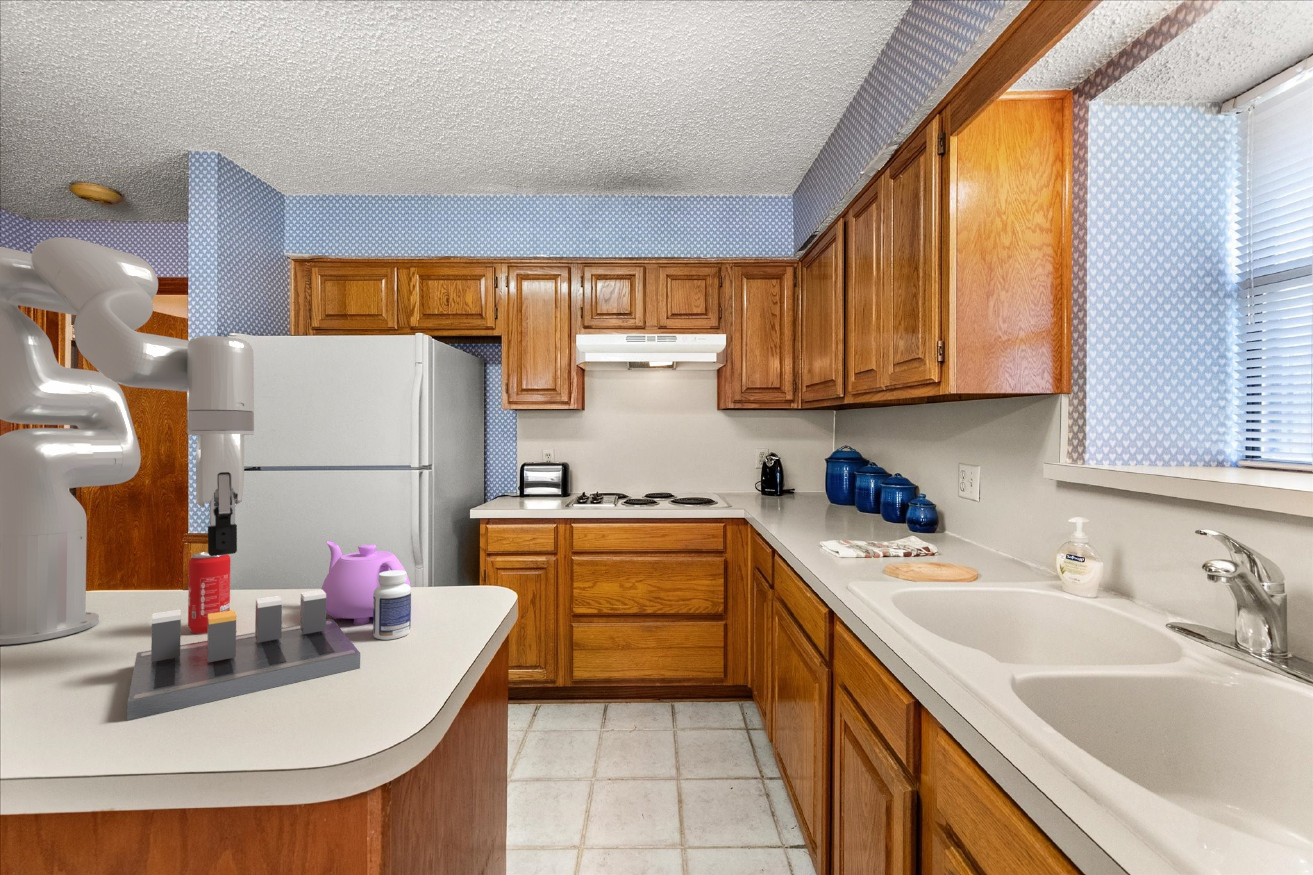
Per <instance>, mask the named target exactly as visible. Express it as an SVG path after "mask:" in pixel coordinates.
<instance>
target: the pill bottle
mask: <svg viewBox="0 0 1313 875" xmlns="http://www.w3.org/2000/svg"><path fill="white" fill-rule="evenodd" d="M407 575H408V573H407V571H406V570H405V571H403V570H392V571H385V572H381V573H379V580H378V582H379V584H380V586H379V587H377V588H376V589H375V590H374V595H373V617H372V618H373V619H372V631H373V632H372V637H374V638H375V639H377V640H383V641H384V640H386V641H388V640H389V641H390V640H395V639H399V638H402V637H405V636H407V635H409V634H410V632H411V628H412V627H411V625H412V624H411V623H412V622H411V621H412V618H411V616H412V586H411V585H410V586H411V587H410V586H409V585H407V584H405V582H406V579H407Z"/></svg>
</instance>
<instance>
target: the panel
mask: <svg viewBox="0 0 1313 875" xmlns="http://www.w3.org/2000/svg"><path fill="white" fill-rule="evenodd" d="M135 656H136V657H135V661H134V666H133V672H132V676H131V683H130V687H129V688H130V689H129V693H128V698H127V711H126V712H127V715H126V717H127V718H126V719H127V721H131V720H136V719H139V718H144V717H145V718H146V717H149V716H153V715H158V714H163V713H166V712H167V713H168V712H171V711H176V710H180V709H184V708H185V709H186V708H189V707H193V706H197V705H202V704H207V703H210V702H215V701H220V700H224V699H228V698H233V697H236V696H237V697H238V696H242V695H247V694H250V693H255V692H260V691H263V690H269V689H272V688H277V687H283V686H287V685H290V684H294V683H299V682H303V681H309V680H313V679H317V678H321V677H326V676H329V675H331V676H332V675H335V674H339V673H342V672H348V671H351V670H352V671H353V670H356V669H361V652H360V651H359V649H358V648H357V647H356V646H355V644H353V642H352V641H351V640H350V638H349V637H348V636H347V635H346V633H345V632H344V631H343V630H342V629H341V628H340V626H339V625H338V624H337V623H336V621H335V619H333V618H331V619H326V630H325V631H319V632H314V633H308V634H303V632H302V631H301V629H300V624H296V625H291V626H290V625H289V626H284V627H282V637H281V639H275V640H270V641H264V642H259V643H257V640H256V638H255V632H251V633H249V632H248V633H245V634H244V633H243V634H238V635H237V634H236V657H235V658H229V659H224V660H219V661H214V662H208V657H207V640H204V641H197V642H191V643H186V644H180V657H176V658H171V659H165V660H160V661H154V662H151V649H150V650H144V651H139V652H136V655H135ZM308 679H309V680H308Z"/></svg>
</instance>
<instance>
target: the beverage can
mask: <svg viewBox="0 0 1313 875" xmlns="http://www.w3.org/2000/svg"><path fill="white" fill-rule="evenodd" d="M187 600H188V601H187V602H188V604H187V607H188V608H187V609H188V610H187V613H188V614H187V626H188V628H189V630H190V632H191V634H195V635H206V634H207V635H208V614H210V613H217V612H224V611H231V610H230V609H231V556H230V554H225V555H216V556H210V555H209V554H208V551H205V552H204V551H203V552H199V553H195V554H192V555H191V556H190V560H189V561H188V599H187Z"/></svg>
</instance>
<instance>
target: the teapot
mask: <svg viewBox="0 0 1313 875" xmlns="http://www.w3.org/2000/svg"><path fill="white" fill-rule="evenodd" d="M326 545H327V546H328V548H329V550H330V563H329V569H328V573H327V575H326V577H325V579H324V581H323V583H322V584H321V589H320V590H323V591H324V592H325V593H326V614H328V615H329V616H331V619H333V620H340V619H353V625H357V626H358V625H365V624H368V623H370V618H373V595H374V590H375V589H376V588H377V587H379V586H380V584H379V582H378V580H379V573H381V572H385V571H392V570H403V571H406V569H405V567H404V566H403V564H402V563H401V562H400V560H399V558H397V556H396V555H395V554H394V553H393V552H391V551H386V550H376V549H377V545H376V544H371V543H369V544H360V545H359V546H357V549H358V551H356V552H350V553H346V554H343V553H342V550H341V548H340V545H338V544H337V543H336V542H334V541H330V540H326ZM405 584H407V585H409V586H410V587H411V588H412V586H411V582H410V578H409V576H408V574H407V579H406V582H405Z"/></svg>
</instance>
